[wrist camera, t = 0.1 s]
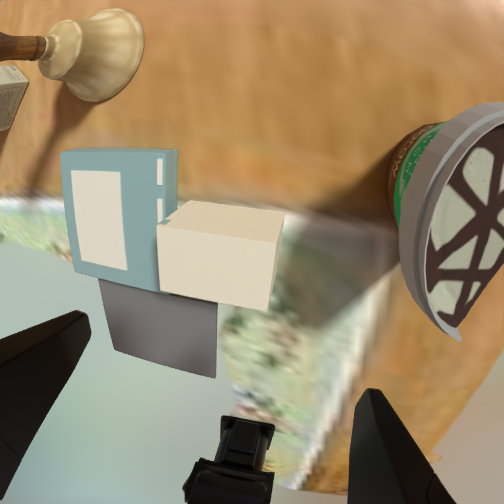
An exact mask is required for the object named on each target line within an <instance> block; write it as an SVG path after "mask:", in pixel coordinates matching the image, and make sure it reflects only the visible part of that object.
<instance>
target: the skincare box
mask: <svg viewBox="0 0 504 504" xmlns="http://www.w3.org/2000/svg"><path fill="white" fill-rule="evenodd" d="M27 85H28V80H27V79H26V78H25V76H24V75H23V74H22V73H21V72H20V71H19V70H18V68H17V67H16V66H15V65H0V131H4V130H7V129H9V128H10V126H11V123H12V121H13V118H14V116H15V113H16V111H17V108H18V106H19V103H20V101H21V99H22V97H23V94H24V92H25V89H26V87H27Z"/></svg>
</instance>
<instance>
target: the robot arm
mask: <svg viewBox="0 0 504 504" xmlns="http://www.w3.org/2000/svg"><path fill="white" fill-rule="evenodd" d="M90 337H91V328H90V323H89V318H88V315H87V314H86V313H84V312H81V311H79V310H75V311H72V312H69V313H67V314H64V315H62V316H59V317H57V318H54V319H51V320H49V321H46V322H43V323H41V324H38V325H36V326H33V327H30V328H28V329H26V330H23V331H20V332H18V333H15V334H12V335H10V336H7V337H5V338H2V339H0V500H2V499H3V497H4V495H5V493H6V491H7V489H8V487H9V485H10V483H11V480H12V478H13V476H14V474H15V472H16V471H17V469H18V466H19V465H20V463H21V459H22V458H23V457H24V454H25V453H26V451H27V449H28V447H29V445H30V443H31V442H32V440H33V438H34V436H35V434H36V433H37V431H38V429H39V428H40V426H41V424H42V422H43V421H44V419H45V417H46V415H47V414H48V412H49V410H50V409H51V407H52V405H53V403H54V402H55V400H56V399H57V397H58V395H59V394H60V392H61V391H62V389H63V387H64V386H65V384H66V383H67V381H68V379H69V378H70V376H71V374H72V373H73V371H74V369H75V367H76V365H77V363H78V361H79V359H80V357H81V355H82V353H83V351H84V349H85V347H86V346H87V344H88V342H89V340H90ZM274 431H275V426H274V425H272V424H266V423H260V422H255V421H250V420H244V419H239V418H235V417H230V416H224V415H223V416H222V417H221V429H220V434H221V435H220V443H219V447H218V450H217V453H216V456H215V459H214V461H210V460H206V459H204V458H200V459H199V461H198V462H195V465H194V468H193V470H192V472H191V474H190V476H189V477H188V479H187V480H186V482H185V483H184V485H183V488H182V489H183V491H184V493H185V502H186V503H188V504H270V501H271V494H272V487H273V481H274V474H275V472H264V471H262V469H263V464H264V459H265V454H266V450H268V449H269V447H270V444H271V440H272V437H273V434H274ZM347 502H348V503H347V504H456V502H455V501H454V500H453V498H452V497H451V496H450V494H449V493H448V491H447V490H446V488H445V487H444V486H443V484H442V483H441V481H440V479H439V478H438V476H437V475H436V473H434V470H433V469H432V467H431V466H430V464H429V462H428V461H427V459H426V458H425V456H424V455H423V453H422V452H421V450H420V448H419V447H418V445H417V444H416V442H415V441H414V439H413V438H412V436H411V435H410V433H409V432H408V430H407V429H406V427H405V426H404V424H403V423H402V421H401V420H400V418H399V417H398V415H397V414H396V412H395V411H394V409H393V408H392V406H391V405H390V403H389V402H388V400H387V399H386V397H385V396H384V394H383V393H382V391H381V390H379V389H374V388H367V389H366V390H365V392H364V393H363V395H362V396H361V398H360V399H359V401H358V402H357V404H356V406H355V411H354V420H353V429H352V437H351V444H350V454H349V482H348V501H347Z"/></svg>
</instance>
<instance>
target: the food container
mask: <svg viewBox="0 0 504 504" xmlns="http://www.w3.org/2000/svg"><path fill="white" fill-rule="evenodd" d="M386 197H387V201H388V206H389V209H390V211H391V214H392V216H393V219H394V221H395V223H396V225H397V228H398V230H399V255H400V262H401V268H402V272H403V275H404V278H405V282H406V285H407V287H408V289H409V291H410V293H411V295H412V297H413V299H414V300H415V302H416V303H417V304H418V306H419V307H420V308H421V309H422V311H423V312H424V313H425V314H426V315H427V316H428V317H429V319H430V320H431V321H432V322H433V323H434V324H435V325H436V326H437V327H438V328H439V329H441V330H442V331H443V332H444V333H446V334H448V335H450V336H451V337H452V338H454V339H456V340H458V341H459V342H462V340H461V337H460V334H459V331H458V328H457V327H458V325H459V324H460V323H461V321H462V320H463V319H464V318H465V317H466V315H467V314H468V312H469V310H470V309H471V307H472V305H473V304H474V302H475V301H476V300H477V298H478V297H479V295H480V294H481V293H482V291H483V290H484V288H485V287H486V285H487V284H488V283H489V281H490V280H491V279H492V278H493V276H494V275H495V274H496V272H497V271H498V270H499V269H500V267H501V266H502V265H503V263H504V102H491V103H483V104H479V105H477V106H474V107H471V108H469V109H466V110H465V111H463V112H462V113H460V114H458V115H457V116H455V117H454V118H452V119H451V120H450V121H448V122H441V123H434V124H428V125H423V126H421V127H420V128H418V129H416V130H415V131H413V132H411V133H410V134H408V135H407V136H406V137H405V138H404V139H403V140H402V142H401V143H400V144H399V145H398V146H397V148H396V149H395V151H394V153H393V155H392V157H391V160H390V163H389V165H388V170H387V175H386Z"/></svg>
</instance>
